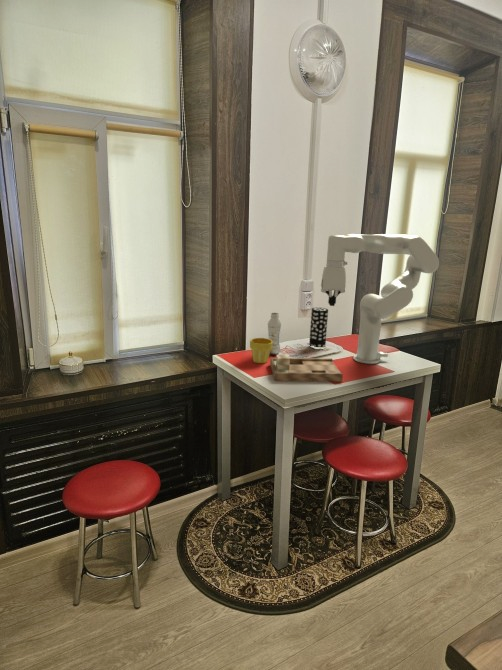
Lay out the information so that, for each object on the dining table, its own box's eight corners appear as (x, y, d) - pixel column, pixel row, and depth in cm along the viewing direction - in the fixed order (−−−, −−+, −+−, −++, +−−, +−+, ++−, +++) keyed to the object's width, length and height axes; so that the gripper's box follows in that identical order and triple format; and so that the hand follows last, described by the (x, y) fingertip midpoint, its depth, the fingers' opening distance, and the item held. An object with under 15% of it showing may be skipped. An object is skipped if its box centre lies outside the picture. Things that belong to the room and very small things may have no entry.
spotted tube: (307, 344, 229) (309, 307, 223) (322, 344, 230) (325, 307, 224) (311, 349, 221) (313, 311, 215) (327, 349, 222) (330, 311, 216)
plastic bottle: (270, 356, 209) (271, 315, 204) (264, 352, 215) (265, 312, 210) (282, 354, 212) (284, 314, 206) (275, 350, 218) (277, 311, 212)
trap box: (331, 365, 199) (332, 358, 198) (342, 381, 181) (342, 373, 180) (270, 365, 197) (270, 357, 196) (274, 380, 179) (275, 373, 178)
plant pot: (272, 358, 207) (273, 338, 204) (270, 365, 197) (271, 344, 194) (250, 356, 208) (251, 336, 205) (248, 363, 198) (248, 343, 195)
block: (287, 365, 190) (287, 354, 189) (289, 369, 186) (289, 358, 184) (275, 365, 190) (276, 354, 188) (277, 369, 185) (278, 358, 184)
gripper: (349, 263, 195) (345, 303, 200) (316, 262, 194) (313, 303, 199) (354, 265, 188) (350, 307, 193) (320, 264, 187) (317, 306, 192)
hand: (331, 305), depth 196 cm, fingers closed
